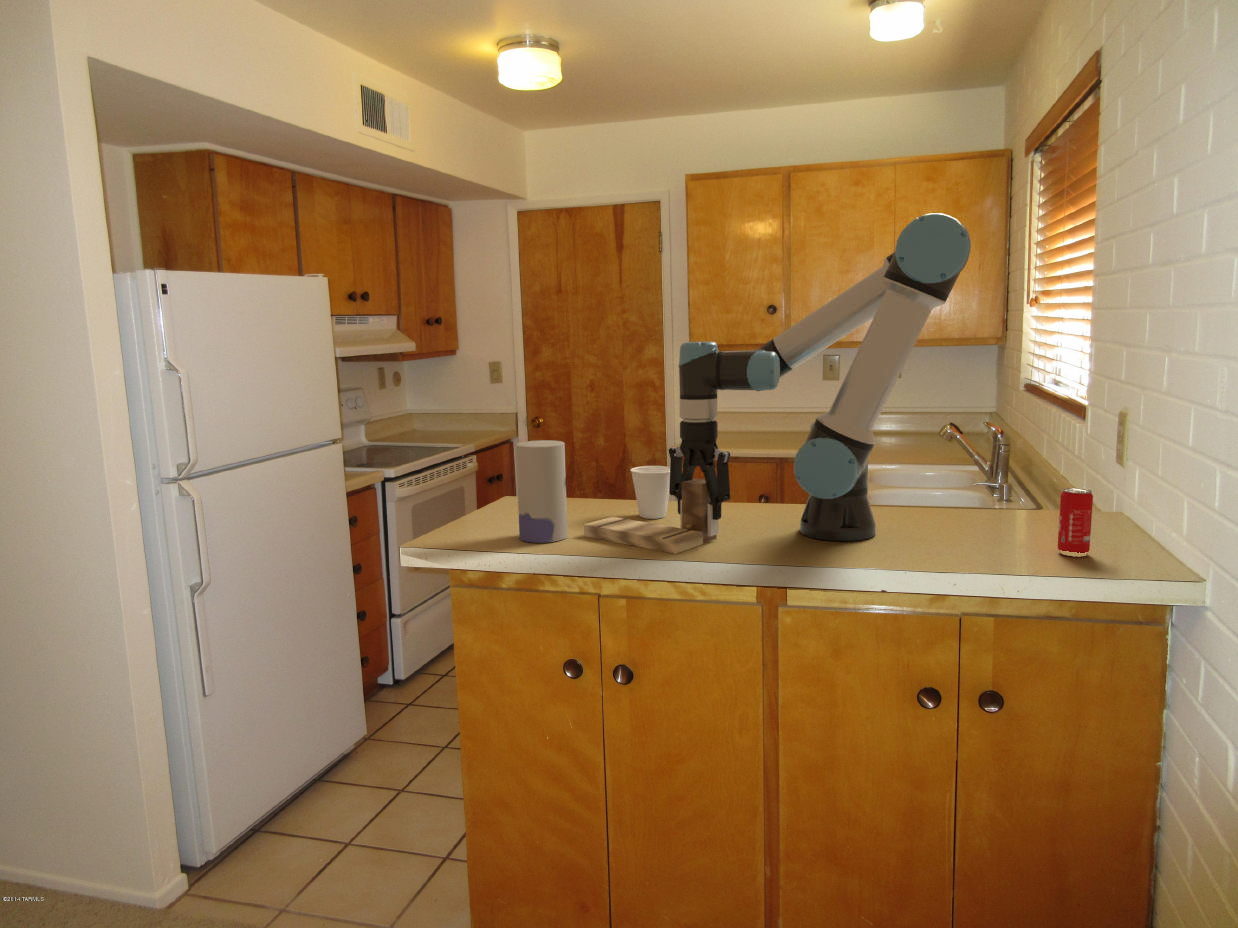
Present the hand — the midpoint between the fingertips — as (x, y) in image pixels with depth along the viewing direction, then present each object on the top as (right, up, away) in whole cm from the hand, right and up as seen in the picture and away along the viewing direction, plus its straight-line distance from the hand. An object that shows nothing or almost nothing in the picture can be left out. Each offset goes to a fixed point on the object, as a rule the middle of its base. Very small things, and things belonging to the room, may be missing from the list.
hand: (699, 532), depth 174 cm
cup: (-9, +2, +22) cm, 24 cm away
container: (-32, -2, +4) cm, 32 cm away
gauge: (0, -1, 0) cm, 1 cm away
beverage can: (+67, -3, -17) cm, 69 cm away
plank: (-12, -2, 0) cm, 12 cm away
